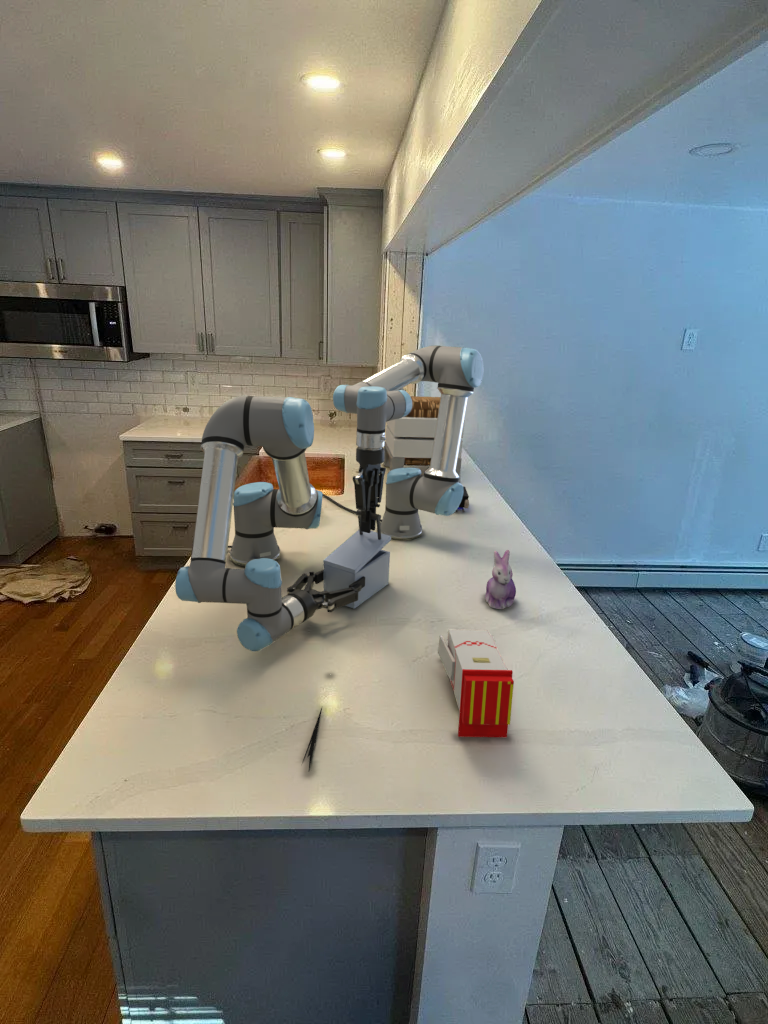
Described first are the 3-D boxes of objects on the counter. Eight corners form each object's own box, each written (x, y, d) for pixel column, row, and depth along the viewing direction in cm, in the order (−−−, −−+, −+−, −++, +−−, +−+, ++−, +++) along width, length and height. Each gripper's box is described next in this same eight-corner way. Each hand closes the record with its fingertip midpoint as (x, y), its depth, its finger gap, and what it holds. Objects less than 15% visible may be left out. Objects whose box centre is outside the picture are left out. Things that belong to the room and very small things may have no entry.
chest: (359, 574, 168) (360, 543, 165) (388, 583, 163) (390, 551, 160) (323, 597, 154) (323, 564, 150) (354, 608, 149) (355, 574, 146)
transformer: (382, 463, 289) (386, 382, 275) (445, 464, 293) (451, 384, 279) (390, 482, 257) (394, 392, 243) (460, 483, 261) (468, 394, 247)
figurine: (497, 613, 149) (504, 562, 144) (474, 596, 158) (480, 547, 153) (525, 606, 154) (532, 556, 149) (501, 590, 162) (508, 542, 157)
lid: (360, 531, 164) (358, 504, 159) (391, 539, 159) (389, 511, 154) (323, 563, 151) (319, 534, 146) (355, 573, 146) (352, 544, 141)
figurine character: (469, 517, 223) (463, 501, 236) (471, 500, 219) (465, 484, 233) (452, 516, 222) (447, 500, 236) (454, 499, 219) (449, 483, 232)
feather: (331, 679, 122) (336, 673, 122) (307, 777, 96) (313, 769, 95) (324, 675, 122) (329, 669, 121) (298, 772, 95) (304, 764, 95)
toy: (488, 613, 130) (523, 677, 101) (484, 667, 133) (517, 744, 104) (435, 612, 130) (455, 676, 101) (432, 666, 133) (451, 743, 103)
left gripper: (258, 609, 141) (313, 577, 159) (332, 638, 130) (382, 600, 148) (257, 582, 138) (313, 552, 156) (332, 609, 128) (383, 574, 146)
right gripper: (367, 455, 141) (364, 542, 149) (397, 444, 153) (393, 525, 161) (342, 450, 144) (341, 535, 153) (373, 440, 156) (370, 519, 165)
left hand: (347, 575), depth 152 cm, fingers closed on chest, 10 cm apart
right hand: (368, 530), depth 157 cm, fingers closed on lid, 2 cm apart
